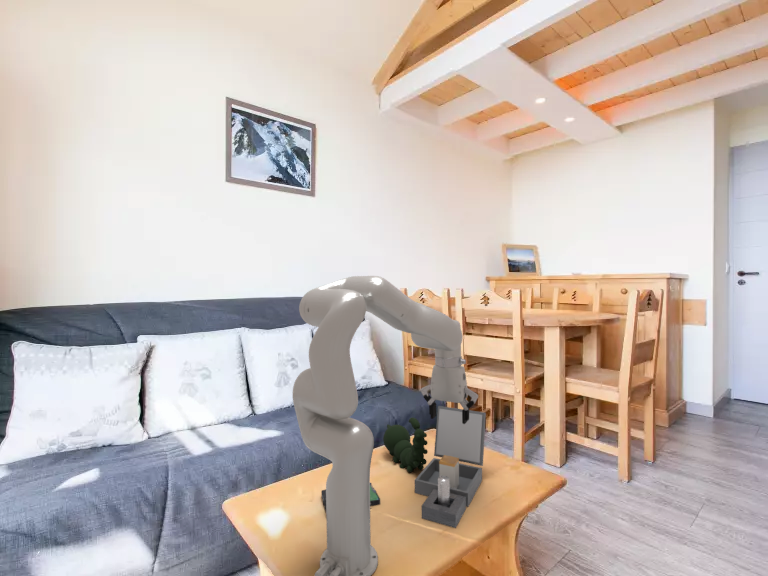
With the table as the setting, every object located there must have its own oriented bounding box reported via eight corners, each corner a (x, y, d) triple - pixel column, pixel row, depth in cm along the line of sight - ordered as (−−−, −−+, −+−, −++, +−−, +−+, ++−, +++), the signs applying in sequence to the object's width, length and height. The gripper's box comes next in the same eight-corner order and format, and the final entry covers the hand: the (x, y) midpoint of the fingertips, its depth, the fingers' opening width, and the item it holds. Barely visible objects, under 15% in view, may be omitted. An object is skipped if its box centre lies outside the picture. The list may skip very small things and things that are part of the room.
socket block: (455, 531, 95) (455, 515, 95) (421, 521, 99) (421, 505, 99) (465, 511, 103) (465, 496, 103) (433, 503, 107) (433, 488, 107)
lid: (484, 412, 121) (485, 412, 122) (437, 405, 129) (438, 405, 130) (481, 466, 118) (483, 465, 119) (433, 456, 125) (434, 455, 126)
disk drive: (327, 520, 101) (381, 508, 106) (327, 510, 101) (381, 498, 106) (321, 499, 111) (370, 489, 116) (320, 489, 111) (370, 480, 116)
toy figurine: (433, 480, 123) (398, 443, 146) (435, 423, 121) (399, 395, 144) (407, 487, 119) (375, 448, 142) (409, 428, 117) (376, 398, 140)
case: (468, 509, 104) (468, 493, 104) (414, 495, 111) (414, 480, 111) (482, 482, 118) (482, 468, 118) (433, 471, 125) (433, 457, 125)
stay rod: (447, 521, 99) (447, 482, 99) (436, 518, 101) (436, 479, 101) (451, 514, 102) (450, 477, 102) (440, 511, 103) (440, 474, 103)
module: (454, 491, 112) (454, 464, 111) (439, 488, 114) (439, 461, 114) (459, 484, 116) (458, 457, 115) (444, 481, 118) (444, 454, 118)
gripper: (480, 361, 113) (481, 420, 113) (425, 357, 121) (426, 411, 121) (473, 367, 106) (474, 429, 107) (415, 362, 114) (416, 419, 115)
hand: (449, 419), depth 114 cm, fingers open, 9 cm apart
